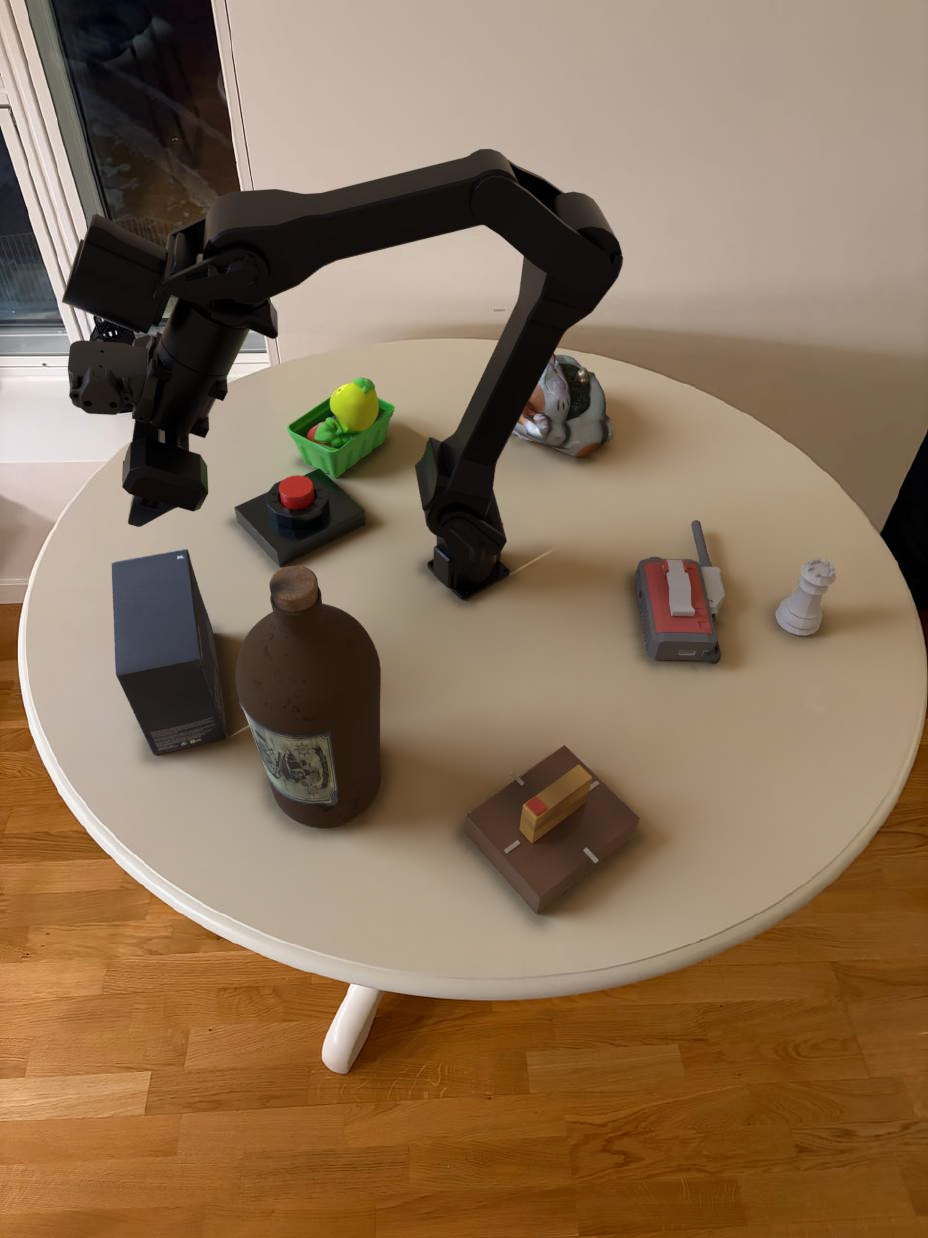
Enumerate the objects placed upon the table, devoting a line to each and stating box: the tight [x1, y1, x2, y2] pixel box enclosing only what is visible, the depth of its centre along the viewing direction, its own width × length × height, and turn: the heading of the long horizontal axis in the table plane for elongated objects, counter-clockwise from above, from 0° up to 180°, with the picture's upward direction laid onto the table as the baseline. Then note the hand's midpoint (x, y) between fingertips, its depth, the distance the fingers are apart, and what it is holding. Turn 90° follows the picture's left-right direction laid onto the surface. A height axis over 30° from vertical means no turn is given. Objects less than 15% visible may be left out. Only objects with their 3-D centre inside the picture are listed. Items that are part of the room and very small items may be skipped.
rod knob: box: [519, 764, 592, 843], centre depth 71 cm, size 6×2×4 cm, turn 129°
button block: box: [233, 468, 366, 568], centre depth 98 cm, size 11×9×4 cm
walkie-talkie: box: [634, 519, 726, 666], centre depth 92 cm, size 9×4×20 cm
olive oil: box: [235, 565, 382, 828], centre depth 69 cm, size 11×11×25 cm
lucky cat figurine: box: [512, 353, 615, 459], centre depth 107 cm, size 15×12×14 cm
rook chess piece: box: [775, 557, 837, 637], centre depth 89 cm, size 4×4×8 cm
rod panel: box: [464, 744, 641, 915], centre depth 74 cm, size 11×10×3 cm
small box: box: [111, 548, 229, 756], centre depth 80 cm, size 13×7×12 cm, turn 16°
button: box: [279, 474, 315, 509], centre depth 96 cm, size 4×4×2 cm
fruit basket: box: [286, 376, 396, 479], centre depth 104 cm, size 11×9×11 cm
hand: (135, 488), depth 81 cm, fingers open, 9 cm apart
